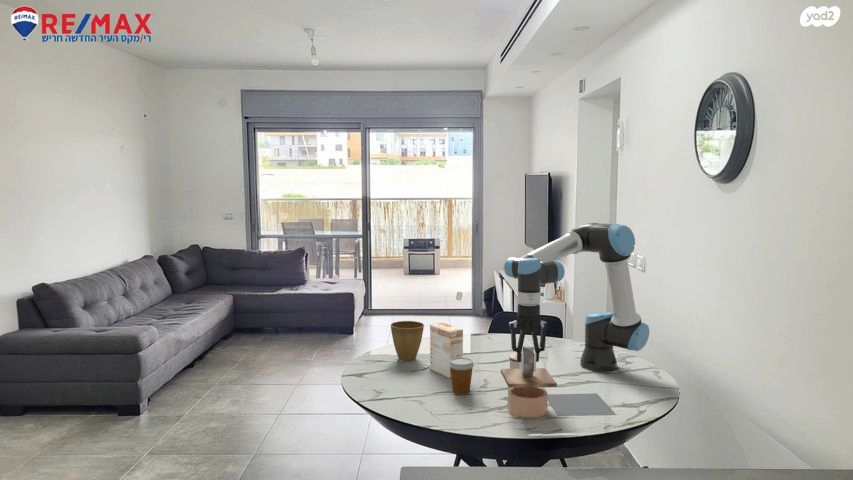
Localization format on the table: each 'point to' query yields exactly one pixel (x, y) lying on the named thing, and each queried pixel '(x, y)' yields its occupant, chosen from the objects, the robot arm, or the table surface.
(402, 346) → the plant pot
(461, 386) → the disposable coffee cup
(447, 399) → the table surface
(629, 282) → the robot arm
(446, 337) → the coffeecake box
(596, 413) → the rubber mat
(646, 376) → the table surface
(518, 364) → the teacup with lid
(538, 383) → the lid board
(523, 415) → the bowl
